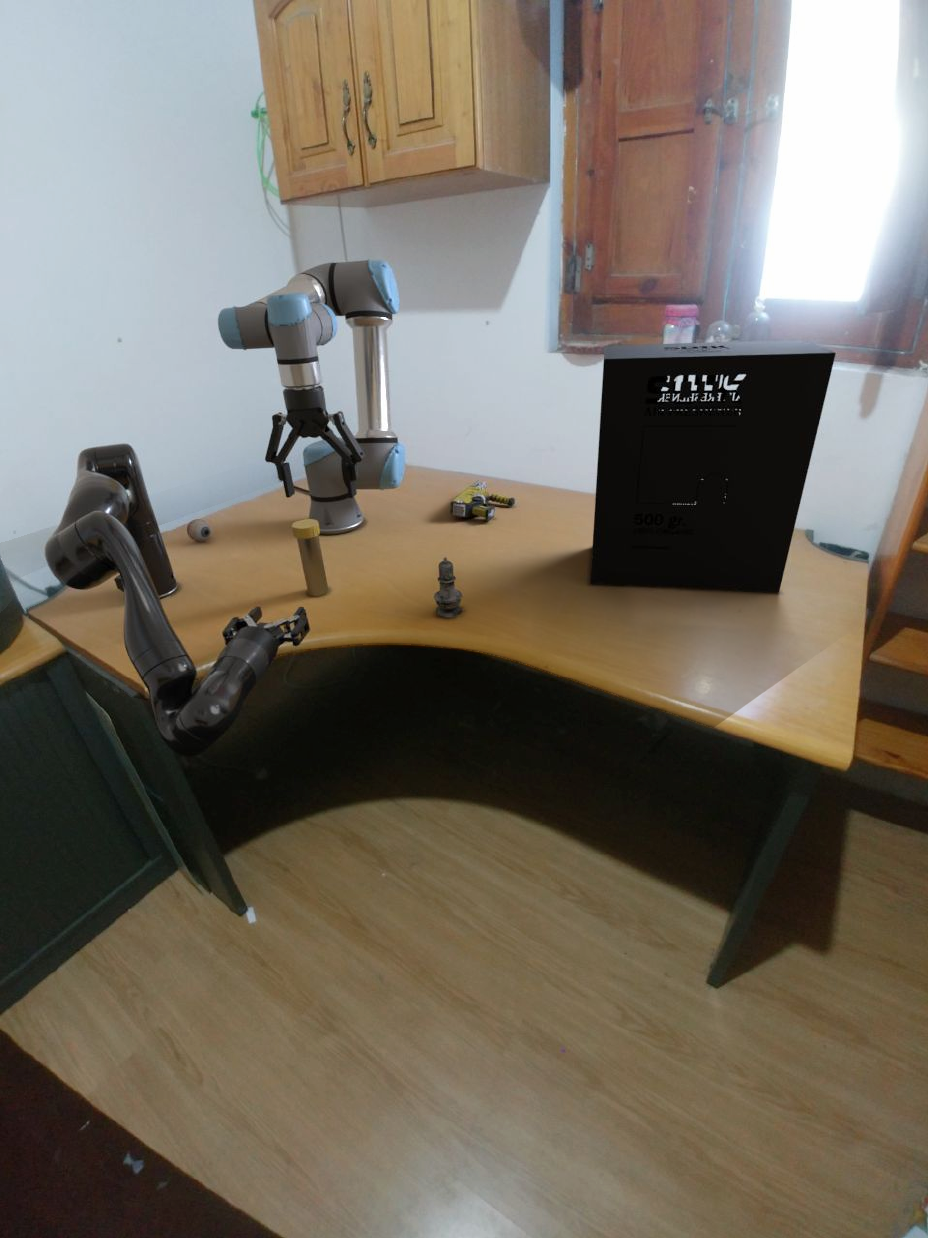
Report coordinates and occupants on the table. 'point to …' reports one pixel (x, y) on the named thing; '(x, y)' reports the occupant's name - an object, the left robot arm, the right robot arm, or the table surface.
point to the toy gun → (477, 502)
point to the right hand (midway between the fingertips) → (321, 495)
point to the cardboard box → (704, 462)
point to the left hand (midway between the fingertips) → (280, 610)
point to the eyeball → (199, 530)
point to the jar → (313, 566)
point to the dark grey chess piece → (447, 591)
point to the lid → (306, 528)
